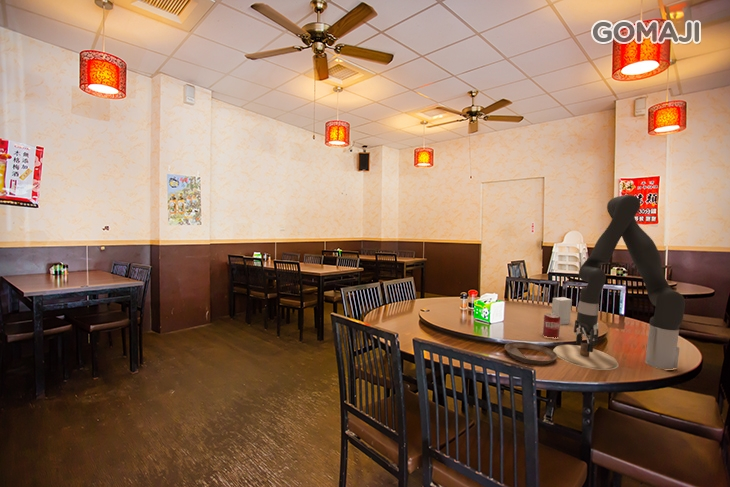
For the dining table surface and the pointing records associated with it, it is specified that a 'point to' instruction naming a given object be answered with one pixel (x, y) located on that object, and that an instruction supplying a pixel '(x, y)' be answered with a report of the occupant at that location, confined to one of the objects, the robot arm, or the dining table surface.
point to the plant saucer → (516, 354)
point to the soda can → (551, 325)
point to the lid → (585, 356)
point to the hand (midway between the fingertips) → (583, 347)
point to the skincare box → (562, 309)
